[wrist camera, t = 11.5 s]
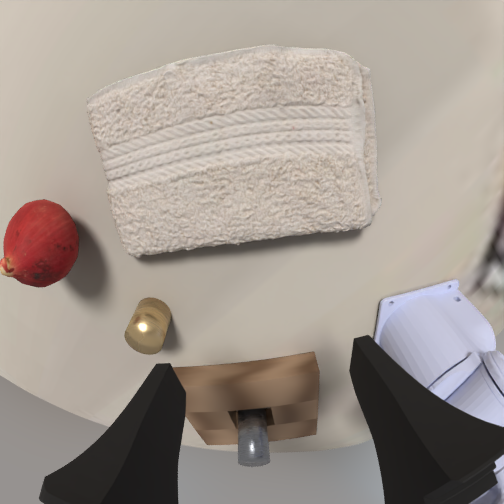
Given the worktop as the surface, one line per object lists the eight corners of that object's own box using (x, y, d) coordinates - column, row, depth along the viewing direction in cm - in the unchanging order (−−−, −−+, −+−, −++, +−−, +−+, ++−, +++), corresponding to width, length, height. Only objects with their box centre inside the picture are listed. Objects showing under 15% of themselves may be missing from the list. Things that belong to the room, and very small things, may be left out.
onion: (109, 221, 18) (47, 276, 10) (79, 269, 19) (28, 329, 12) (58, 173, 16) (-16, 206, 9) (34, 226, 17) (-26, 271, 10)
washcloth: (370, 216, 19) (389, 231, 16) (134, 252, 19) (118, 272, 17) (355, 55, 14) (374, 44, 11) (97, 100, 14) (73, 98, 12)
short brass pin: (164, 295, 21) (153, 324, 17) (175, 324, 22) (167, 353, 19) (132, 299, 21) (118, 326, 18) (145, 326, 22) (134, 354, 19)
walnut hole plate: (314, 351, 24) (319, 371, 22) (313, 418, 30) (316, 434, 28) (170, 367, 24) (166, 386, 22) (208, 429, 30) (207, 444, 28)
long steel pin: (263, 391, 26) (268, 456, 19) (265, 405, 28) (270, 465, 20) (236, 393, 26) (235, 458, 19) (239, 407, 28) (240, 467, 20)
